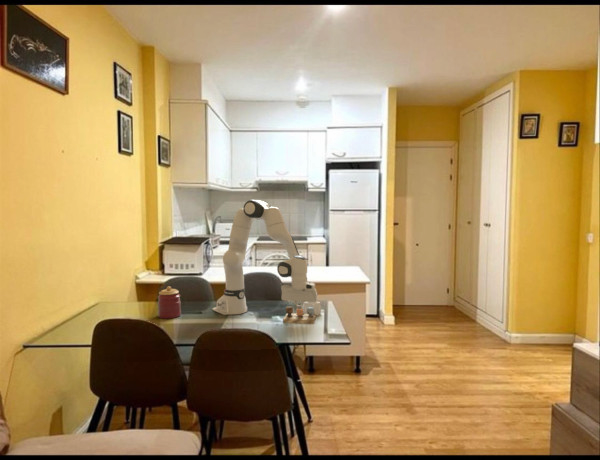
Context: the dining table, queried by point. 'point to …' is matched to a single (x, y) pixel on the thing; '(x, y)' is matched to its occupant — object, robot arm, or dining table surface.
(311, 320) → the button board
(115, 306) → the dining table surface
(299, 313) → the peach rounded knob
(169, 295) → the canister
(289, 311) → the brown rounded piece
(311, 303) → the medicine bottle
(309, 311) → the slate-blue button
